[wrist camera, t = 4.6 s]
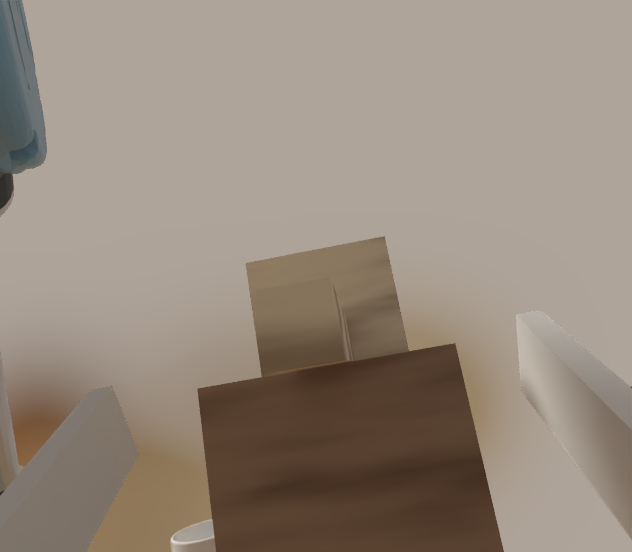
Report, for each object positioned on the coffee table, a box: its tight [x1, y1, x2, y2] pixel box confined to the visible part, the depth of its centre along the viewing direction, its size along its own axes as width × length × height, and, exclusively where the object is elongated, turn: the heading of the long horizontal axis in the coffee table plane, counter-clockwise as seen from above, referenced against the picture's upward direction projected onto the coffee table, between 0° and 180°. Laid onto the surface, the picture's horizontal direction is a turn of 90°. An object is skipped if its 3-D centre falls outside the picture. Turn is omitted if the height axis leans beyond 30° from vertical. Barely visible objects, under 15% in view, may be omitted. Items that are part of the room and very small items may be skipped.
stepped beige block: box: [246, 237, 409, 377], centre depth 29 cm, size 25×11×9 cm, turn 174°
